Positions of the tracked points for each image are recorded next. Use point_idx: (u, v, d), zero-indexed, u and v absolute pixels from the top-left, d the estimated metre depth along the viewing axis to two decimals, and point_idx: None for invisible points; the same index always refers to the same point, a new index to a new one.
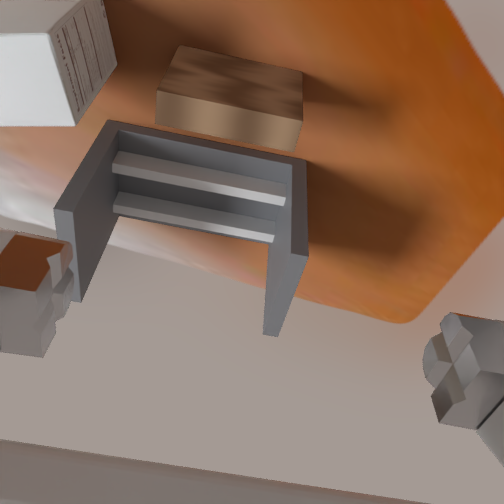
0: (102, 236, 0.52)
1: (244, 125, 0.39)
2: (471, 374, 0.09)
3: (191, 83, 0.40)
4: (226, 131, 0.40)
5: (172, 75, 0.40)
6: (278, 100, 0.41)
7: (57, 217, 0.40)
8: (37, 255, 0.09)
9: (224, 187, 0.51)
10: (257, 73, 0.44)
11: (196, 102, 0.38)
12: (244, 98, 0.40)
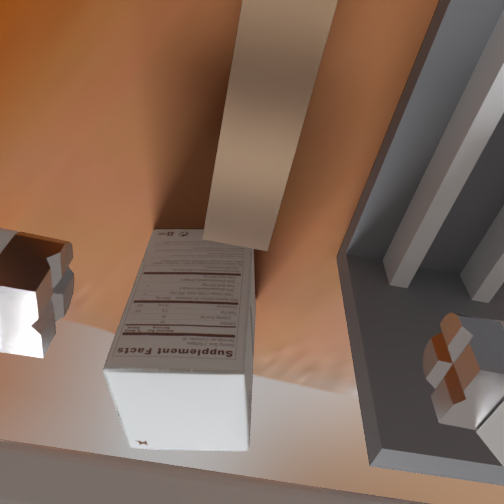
0: None
1: (269, 84, 0.17)
2: (471, 374, 0.09)
3: None
4: (285, 125, 0.18)
5: None
6: None
7: (389, 466, 0.22)
8: (37, 255, 0.09)
9: (487, 105, 0.23)
10: None
11: (220, 179, 0.19)
12: None
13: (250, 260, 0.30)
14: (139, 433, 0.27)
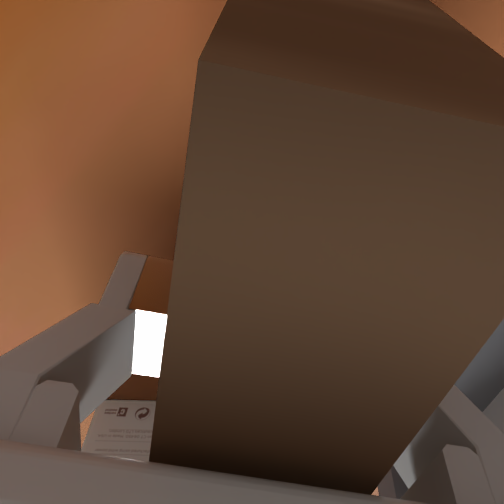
0: None
1: (264, 457, 0.06)
2: None
3: None
4: None
5: None
6: None
7: None
8: None
9: None
10: None
11: None
12: None
13: None
14: None
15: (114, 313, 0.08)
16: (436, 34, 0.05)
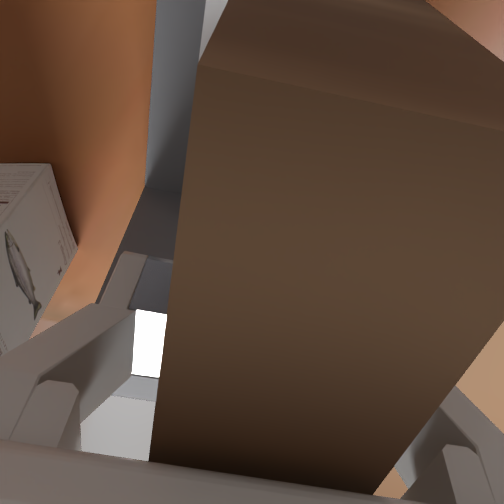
0: None
1: (264, 460, 0.06)
2: None
3: None
4: None
5: None
6: None
7: None
8: None
9: None
10: None
11: None
12: None
13: (28, 190, 0.28)
14: None
15: (114, 313, 0.08)
16: (435, 37, 0.05)
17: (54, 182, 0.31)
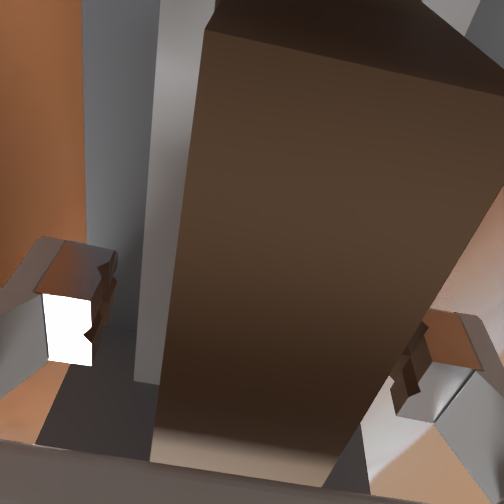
0: None
1: (261, 394, 0.07)
2: (425, 366, 0.09)
3: None
4: (299, 454, 0.08)
5: None
6: None
7: None
8: (88, 264, 0.09)
9: (166, 85, 0.12)
10: None
11: None
12: None
13: None
14: None
15: (17, 296, 0.08)
16: (410, 19, 0.06)
17: None
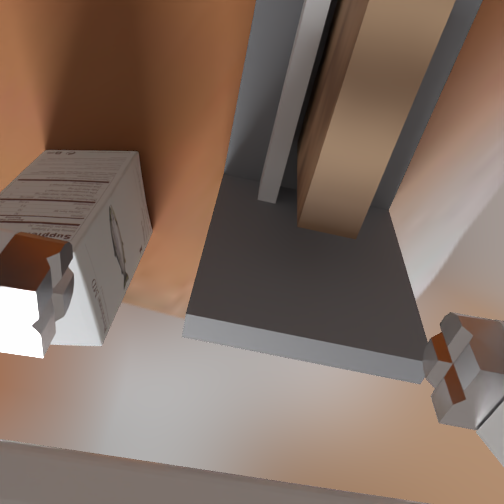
0: (365, 258, 0.28)
1: (379, 85, 0.19)
2: (471, 374, 0.09)
3: (309, 162, 0.24)
4: (388, 122, 0.20)
5: (300, 185, 0.25)
6: None
7: (201, 337, 0.23)
8: (37, 255, 0.09)
9: (312, 0, 0.24)
10: (335, 28, 0.25)
11: (322, 170, 0.21)
12: (338, 73, 0.21)
13: (123, 172, 0.31)
14: None
15: None
16: None
17: (140, 168, 0.35)
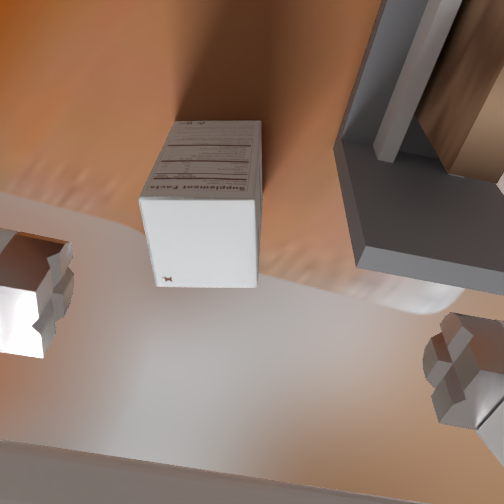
0: (483, 206, 0.33)
1: None
2: (471, 374, 0.09)
3: (454, 119, 0.28)
4: None
5: (439, 141, 0.30)
6: None
7: (372, 267, 0.27)
8: (37, 255, 0.09)
9: None
10: (472, 4, 0.29)
11: (480, 122, 0.26)
12: (498, 40, 0.25)
13: (258, 137, 0.35)
14: (166, 268, 0.32)
15: None
16: None
17: None
